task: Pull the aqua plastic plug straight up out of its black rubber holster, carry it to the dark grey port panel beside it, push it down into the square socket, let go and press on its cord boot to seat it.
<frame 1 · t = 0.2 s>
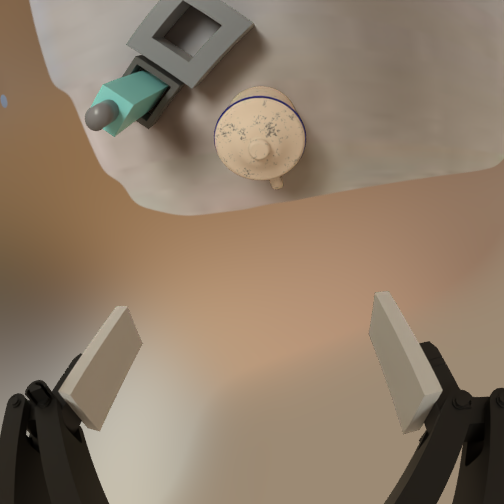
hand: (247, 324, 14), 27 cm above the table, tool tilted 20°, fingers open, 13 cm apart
teacup with lid: (264, 127, 34), on the table
aqua plug: (126, 100, 25), in the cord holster
port panel: (194, 31, 25), on the table
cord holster: (149, 89, 30), on the table
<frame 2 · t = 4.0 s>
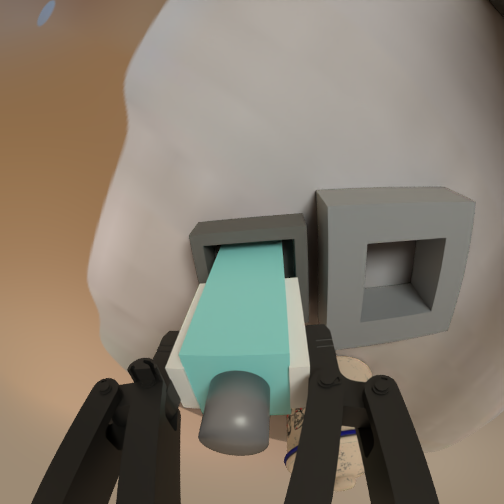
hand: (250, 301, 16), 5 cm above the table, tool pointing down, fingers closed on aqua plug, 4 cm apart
teacup with lid: (321, 390, 26), on the table
aqua plug: (247, 324, 14), in the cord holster, touching gripper
port panel: (383, 254, 19), on the table
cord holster: (254, 264, 20), on the table
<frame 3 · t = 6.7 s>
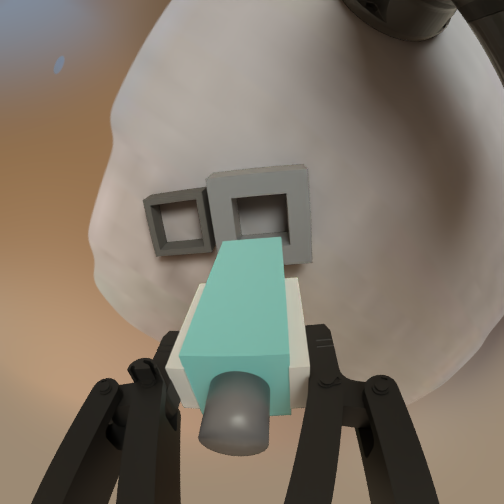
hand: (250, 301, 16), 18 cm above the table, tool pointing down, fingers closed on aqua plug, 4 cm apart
aqua plug: (247, 325, 14), point 20 cm above the table, touching gripper
port panel: (262, 211, 32), on the table
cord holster: (183, 219, 33), on the table
when the fingers open (6 cm above the table, at t = 9.3 s): aqua plug drops 1 cm, resting in port panel.
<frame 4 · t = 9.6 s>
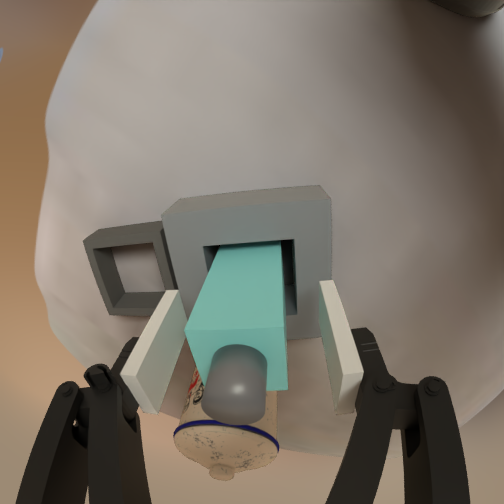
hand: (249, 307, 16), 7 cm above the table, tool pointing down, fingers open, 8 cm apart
teacup with lid: (230, 384, 28), on the table
aqua plug: (247, 308, 16), in the port panel
port panel: (255, 255, 22), on the table
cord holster: (142, 264, 23), on the table
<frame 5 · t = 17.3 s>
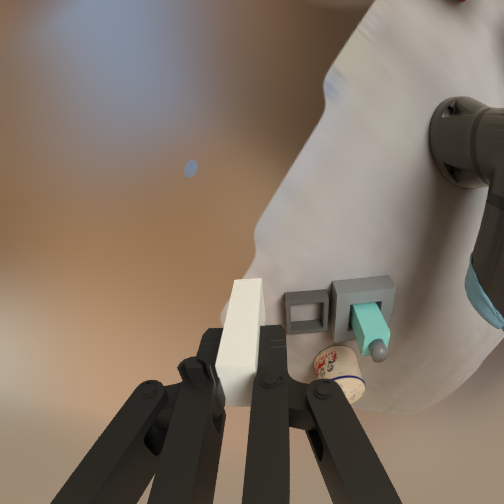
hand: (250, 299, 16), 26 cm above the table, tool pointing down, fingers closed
teacup with lid: (330, 363, 54), on the table
aqua plug: (369, 326, 41), in the port panel
port panel: (358, 303, 47), on the table
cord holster: (305, 308, 48), on the table
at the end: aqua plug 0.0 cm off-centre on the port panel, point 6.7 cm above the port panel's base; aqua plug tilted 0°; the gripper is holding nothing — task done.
